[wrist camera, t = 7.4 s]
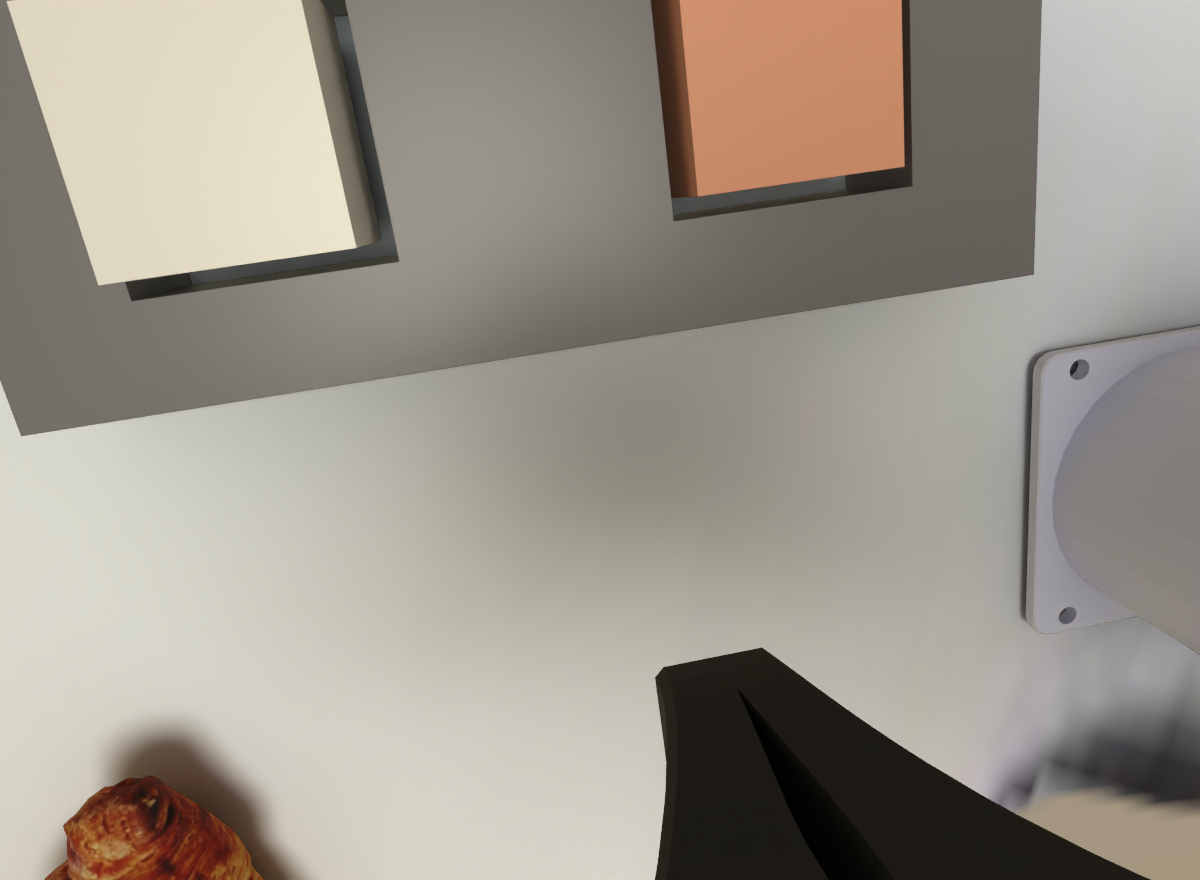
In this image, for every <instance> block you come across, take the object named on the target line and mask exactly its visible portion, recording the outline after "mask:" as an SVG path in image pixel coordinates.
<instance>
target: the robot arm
mask: <svg viewBox="0 0 1200 880" xmlns="http://www.w3.org/2000/svg"><path fill="white" fill-rule="evenodd" d="M1075 361H1078V368H1077V371H1076V372H1075V373H1074V374H1073V375H1071V376H1070V368H1071V366H1072V364H1073V363H1074V362H1075ZM1065 608H1066V611H1065V612H1064V613H1063V614H1062V615H1061V616H1059V615H1060V612H1061V611H1062V610H1063V609H1065ZM1135 616H1139V617H1141V618H1143V619H1144V620H1146V621H1147V622H1149V623H1150V624H1152V625H1154V626H1155V627H1157V628H1158V629H1160V630H1161V631H1163V632H1165V633H1166V634H1168V635H1169V636H1171V637H1173V638H1174V639H1176V640H1177V641H1179V642H1180V643H1182V644H1184V645H1185V646H1187V647H1188V648H1190V649H1191V650H1193V651H1195V652H1196V653H1198V654H1199V655H1200V326H1197V327H1191V328H1185V329H1179V330H1173V331H1167V332H1161V333H1155V334H1149V335H1143V336H1137V337H1132V338H1126V339H1120V340H1114V341H1108V342H1102V343H1096V344H1090V345H1084V346H1078V347H1072V348H1066V349H1060V350H1054V351H1051V352H1048V353H1045V354H1044V355H1043V356H1042V357H1040V358H1039V359H1038V361H1037V363H1036V364H1035V367H1034V371H1033V392H1032V425H1031V458H1030V491H1029V524H1028V557H1027V590H1026V620H1027V623H1028V624H1029V625H1030V626H1031V627H1032V628H1033V629H1034V630H1036V631H1037V632H1039V633H1041V634H1051V633H1056V632H1061V631H1066V630H1071V629H1076V628H1081V627H1086V626H1091V625H1096V624H1101V623H1105V622H1110V621H1115V620H1120V619H1125V618H1130V617H1135ZM655 679H656V687H657V694H658V702H659V709H660V717H661V724H662V732H663V739H664V747H665V754H666V762H667V763H666V793H665V805H664V814H663V823H662V831H661V840H660V849H659V858H658V865H657V871H656V877H655V880H1150V879H1148V878H1145V877H1143V876H1141V875H1138V874H1136V873H1134V872H1132V871H1130V870H1128V869H1125V868H1123V867H1121V866H1119V865H1117V864H1115V863H1113V862H1110V861H1108V860H1106V859H1104V858H1102V857H1100V856H1098V855H1095V854H1093V853H1091V852H1089V851H1087V850H1085V849H1083V848H1081V847H1079V846H1077V845H1075V844H1073V843H1071V842H1069V841H1068V840H1066V839H1064V838H1062V837H1060V836H1058V835H1056V834H1054V833H1052V832H1050V831H1048V830H1046V829H1044V828H1042V827H1040V826H1038V825H1036V824H1034V823H1032V822H1030V821H1028V820H1026V819H1024V818H1022V817H1020V816H1018V815H1016V814H1015V813H1013V812H1011V811H1009V810H1007V809H1006V808H1004V807H1002V806H1000V805H998V804H996V803H995V802H993V801H991V800H989V799H987V798H986V797H984V796H982V795H980V794H979V793H977V792H975V791H974V790H972V789H970V788H969V787H967V786H965V785H963V784H962V783H960V782H958V781H957V780H955V779H953V778H952V777H950V776H948V775H947V774H945V773H943V772H942V771H940V770H938V769H937V768H935V767H933V766H932V765H930V764H928V763H927V762H925V761H923V760H922V759H920V758H919V757H917V756H916V755H914V754H912V753H911V752H909V751H908V750H906V749H905V748H903V747H901V746H900V745H898V744H897V743H895V742H894V741H892V740H891V739H889V738H888V737H886V736H885V735H883V734H882V733H880V732H879V731H877V730H876V729H874V728H873V727H871V726H870V725H869V724H867V723H866V722H864V721H863V720H861V719H860V718H858V717H857V716H855V715H854V714H853V713H851V712H850V711H848V710H847V709H845V708H844V707H843V706H841V705H840V704H838V703H837V702H836V701H834V700H833V699H832V698H830V697H829V696H827V695H826V694H825V693H823V692H822V691H821V690H819V689H818V688H816V687H815V686H814V685H812V684H811V683H810V682H808V681H807V680H806V679H804V678H803V677H801V676H800V675H799V674H797V673H796V672H795V671H793V670H792V669H791V668H789V667H788V666H787V665H785V664H784V663H782V662H781V661H780V660H778V659H777V658H776V657H774V656H773V655H771V654H770V653H769V652H767V651H766V650H765V649H763V648H758V649H753V650H748V651H743V652H738V653H733V654H728V655H723V656H718V657H713V658H708V659H703V660H698V661H693V662H688V663H683V664H678V665H673V666H668V667H663V669H662V670H661V671H660V672H659V674H658V675H657V676H656V677H655Z"/></svg>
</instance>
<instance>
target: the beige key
mask: <svg viewBox="0 0 1200 880" xmlns="http://www.w3.org/2000/svg"><path fill="white" fill-rule="evenodd" d="M7 5H8V8H9V11H10V14H11V17H12V20H13V23H14V26H15V29H16V32H17V35H18V39H19V42H20V45H21V48H22V51H23V54H24V57H25V60H26V63H27V66H28V69H29V73H30V76H31V79H32V82H33V85H34V88H35V91H36V94H37V97H38V100H39V103H40V107H41V110H42V113H43V116H44V119H45V122H46V125H47V128H48V131H49V134H50V137H51V141H52V144H53V147H54V150H55V153H56V156H57V159H58V162H59V165H60V168H61V171H62V175H63V178H64V181H65V184H66V187H67V190H68V193H69V196H70V199H71V202H72V205H73V209H74V212H75V215H76V218H77V221H78V224H79V227H80V230H81V233H82V236H83V239H84V243H85V246H86V249H87V252H88V255H89V258H90V261H91V264H92V267H93V270H94V273H95V276H96V280H97V283H98V285H105V284H112V283H119V282H126V281H133V280H140V279H146V278H153V277H160V276H167V275H174V274H181V273H188V272H195V271H202V270H209V269H215V268H222V267H229V266H236V265H243V264H250V263H257V262H264V261H271V260H277V259H284V258H291V257H298V256H305V255H312V254H319V253H326V252H333V251H340V250H346V249H353V248H358V247H361V246H365V245H368V244H371V243H374V242H378V241H381V237H380V232H379V227H378V222H377V218H376V213H375V208H374V204H373V199H372V194H371V190H370V185H369V180H368V176H367V171H366V166H365V161H364V157H363V152H362V147H361V143H360V138H359V133H358V129H357V124H356V119H355V115H354V110H353V105H352V100H351V96H350V91H349V86H348V82H347V77H346V72H345V68H344V63H343V58H342V54H341V49H340V44H339V39H338V35H337V30H336V25H335V21H334V16H333V15H332V13H331V12H330V11H329V10H328V9H327V7H326V6H325V5H324V4H323V3H322V1H321V0H12V1H7Z"/></svg>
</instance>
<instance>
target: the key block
mask: <svg viewBox="0 0 1200 880" xmlns="http://www.w3.org/2000/svg"><path fill="white" fill-rule="evenodd" d="M7 1H12V0H0V381H1V383H2V386H3V389H4V391H5V394H6V397H7V399H8V402H9V405H10V407H11V410H12V413H13V415H14V418H15V421H16V423H17V426H18V429H19V431H20V434H21V436H25V435H31V434H38V433H44V432H50V431H57V430H63V429H69V428H75V427H82V426H88V425H94V424H100V423H107V422H113V421H119V420H126V419H132V418H138V417H144V416H151V415H157V414H163V413H169V412H176V411H182V410H188V409H194V408H201V407H207V406H213V405H220V404H226V403H232V402H238V401H245V400H251V399H257V398H263V397H270V396H276V395H282V394H289V393H295V392H301V391H307V390H314V389H320V388H326V387H332V386H339V385H345V384H351V383H358V382H364V381H370V380H376V379H383V378H389V377H395V376H401V375H408V374H414V373H420V372H426V371H433V370H439V369H445V368H452V367H458V366H464V365H470V364H477V363H483V362H489V361H495V360H502V359H508V358H514V357H521V356H527V355H533V354H539V353H546V352H552V351H558V350H564V349H571V348H577V347H583V346H590V345H596V344H602V343H608V342H615V341H621V340H627V339H633V338H640V337H646V336H652V335H659V334H665V333H671V332H677V331H684V330H690V329H696V328H702V327H709V326H715V325H721V324H727V323H734V322H740V321H746V320H753V319H759V318H765V317H771V316H778V315H784V314H790V313H796V312H803V311H809V310H815V309H822V308H828V307H834V306H840V305H847V304H853V303H859V302H865V301H872V300H878V299H884V298H891V297H897V296H903V295H909V294H916V293H922V292H928V291H934V290H941V289H947V288H953V287H959V286H966V285H972V284H978V283H985V282H991V281H997V280H1003V279H1010V278H1016V277H1022V276H1028V275H1034V247H1035V213H1036V179H1037V145H1038V111H1039V77H1040V42H1041V8H1042V0H902V53H903V107H904V162H905V167H898V168H892V169H885V170H878V171H871V172H864V173H857V174H850V175H846V179H847V190H840V191H833V192H826V193H819V194H812V195H806V196H799V197H792V198H785V199H778V200H771V201H765V202H758V203H751V204H744V205H737V206H731V207H724V208H717V209H710V210H703V211H696V212H690V213H683V214H676V215H673V211H672V201H671V192H670V182H669V173H668V163H667V153H666V144H665V134H664V124H663V115H662V105H661V96H660V86H659V76H658V67H657V57H656V47H655V38H654V28H653V19H652V9H651V0H321V1H322V3H323V4H324V5H325V6H326V7H327V9H328V10H329V11H330V12H331V13H332V15H333V16H340V15H348V17H349V22H350V27H351V31H352V36H353V41H354V46H355V51H356V55H357V60H358V65H359V70H360V75H361V79H362V84H363V89H364V94H365V99H366V103H367V108H368V113H369V118H370V123H371V127H372V132H373V137H374V142H375V147H376V151H377V156H378V161H379V166H380V171H381V175H382V180H383V185H384V190H385V195H386V200H387V204H388V209H389V214H390V219H391V224H392V228H393V233H394V238H395V243H396V248H397V252H398V255H396V256H389V257H382V258H375V259H369V260H362V261H355V262H348V263H341V264H334V265H328V266H321V267H314V268H307V269H300V270H293V271H287V272H280V273H273V274H266V275H259V276H252V277H246V278H239V279H232V280H225V281H218V282H211V283H205V284H198V285H191V282H190V278H189V275H188V273H181V274H174V275H167V276H160V277H153V278H146V279H140V280H133V281H126V282H119V283H112V284H105V285H98V283H97V280H96V276H95V273H94V270H93V267H92V264H91V261H90V258H89V255H88V252H87V249H86V246H85V243H84V239H83V236H82V233H81V230H80V227H79V224H78V221H77V218H76V215H75V212H74V209H73V205H72V202H71V199H70V196H69V193H68V190H67V187H66V184H65V181H64V178H63V175H62V171H61V168H60V165H59V162H58V159H57V156H56V153H55V150H54V147H53V144H52V141H51V137H50V134H49V131H48V128H47V125H46V122H45V119H44V116H43V113H42V110H41V107H40V103H39V100H38V97H37V94H36V91H35V88H34V85H33V82H32V79H31V76H30V73H29V69H28V66H27V63H26V60H25V57H24V54H23V51H22V48H21V45H20V42H19V39H18V35H17V32H16V29H15V26H14V23H13V20H12V17H11V14H10V11H9V8H8V5H7Z"/></svg>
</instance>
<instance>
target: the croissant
mask: <svg viewBox="0 0 1200 880" xmlns="http://www.w3.org/2000/svg"><path fill="white" fill-rule="evenodd" d="M63 827H64V830H65V833H66V835H67V855H68V860H67V861H66V862H64V863H63V864H62V865H60V866H59V867H58V868H56V869H55V870H54V871H53V872H52V873H51V874H50V875H49V876H47V877H46V878H45V880H264V879H263V878H262V877H261V876H260V875H259V873H258V872H257V871H256V870H255V869H254V868H253V867H252V865H251V856H250V854H249V853H248V851H247V849H246V847H245V846H244V844H243V843H242V841H241V839H240V838H239V837H238V836H237V834H236V833H235V832H234V831H233V830H232V829H231V828H230V827H228V826H227V825H226V824H224V823H223V822H222V821H221V820H219V819H218V818H217V817H216V816H214V815H213V814H211V813H210V812H209V811H207V810H206V809H204V808H203V807H201V806H200V805H198V804H197V803H195V802H194V801H192V800H191V799H189V798H187V797H186V796H184V795H182V794H180V793H179V792H177V791H175V790H173V789H172V788H170V787H169V786H167V785H166V784H165V783H163V782H162V781H161V780H159V779H158V778H157V777H154V776H148V777H144V778H141V779H137V778H128V779H126V780H124V781H121V782H120V783H118V784H116V785H115V786H110V787H104V788H102V789H101V790H100V791H98V792H97V793H96V794H94V795H93V796H92V797H90V798H89V799H88V800H87V801H86V802H85V804H84V805H83V806H82V807H81V809H80V810H79V811H78V812H77V813H76V814H75V815H74V816H73V817H72V818H71V819H69V820H68V821H67V822H66V823H65V824H64V825H63Z"/></svg>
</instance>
